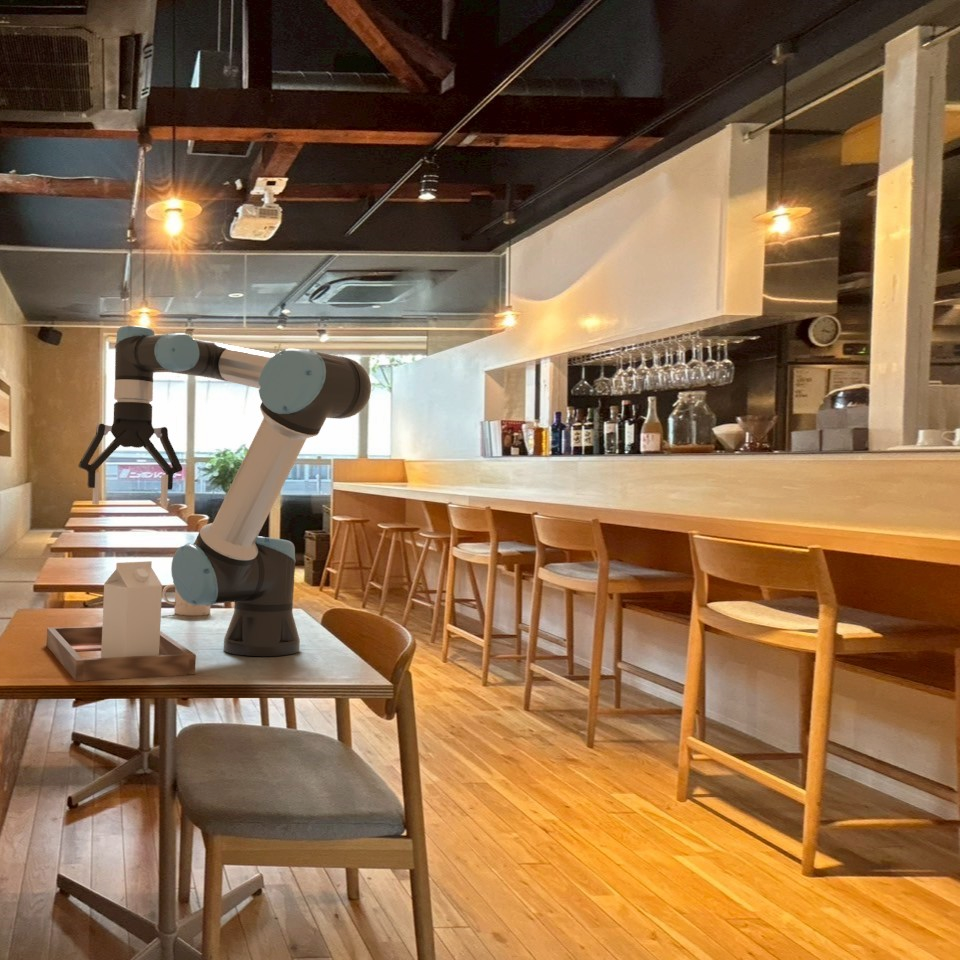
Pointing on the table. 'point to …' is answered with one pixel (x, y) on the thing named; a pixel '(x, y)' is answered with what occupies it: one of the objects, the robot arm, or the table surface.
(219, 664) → the table surface
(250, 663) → the table surface
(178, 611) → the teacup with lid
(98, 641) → the box
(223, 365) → the robot arm
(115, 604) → the milk carton
